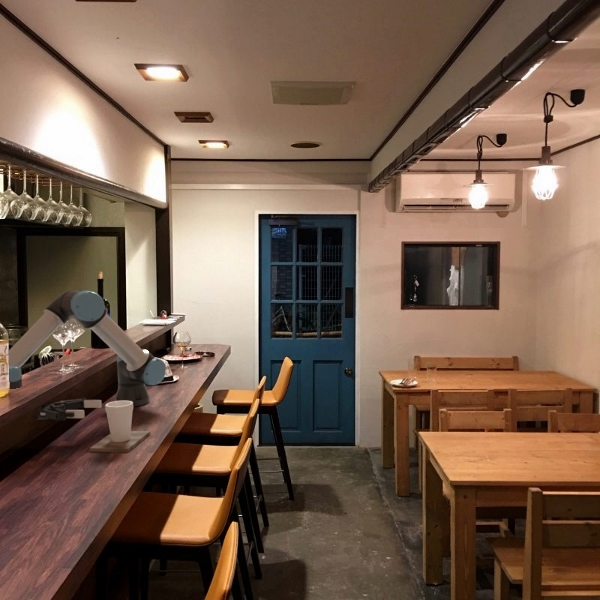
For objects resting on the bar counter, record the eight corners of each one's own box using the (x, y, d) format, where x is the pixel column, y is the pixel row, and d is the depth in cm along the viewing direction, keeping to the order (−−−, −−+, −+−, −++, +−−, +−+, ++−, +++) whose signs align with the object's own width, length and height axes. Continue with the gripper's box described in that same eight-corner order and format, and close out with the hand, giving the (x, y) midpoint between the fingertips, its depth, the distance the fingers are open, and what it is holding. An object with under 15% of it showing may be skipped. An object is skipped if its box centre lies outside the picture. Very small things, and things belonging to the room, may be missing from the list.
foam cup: (106, 444, 214) (104, 408, 213) (107, 436, 222) (105, 401, 221) (134, 441, 216) (133, 405, 215) (134, 434, 225) (132, 399, 224)
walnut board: (114, 433, 230) (114, 430, 230) (150, 434, 228) (150, 431, 228) (89, 451, 210) (89, 448, 210) (128, 452, 209) (128, 448, 208)
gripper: (55, 409, 236) (108, 409, 233) (18, 429, 211) (76, 429, 208) (54, 390, 235) (107, 390, 232) (17, 407, 210) (75, 407, 208)
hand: (92, 408), depth 220 cm, fingers open, 13 cm apart
